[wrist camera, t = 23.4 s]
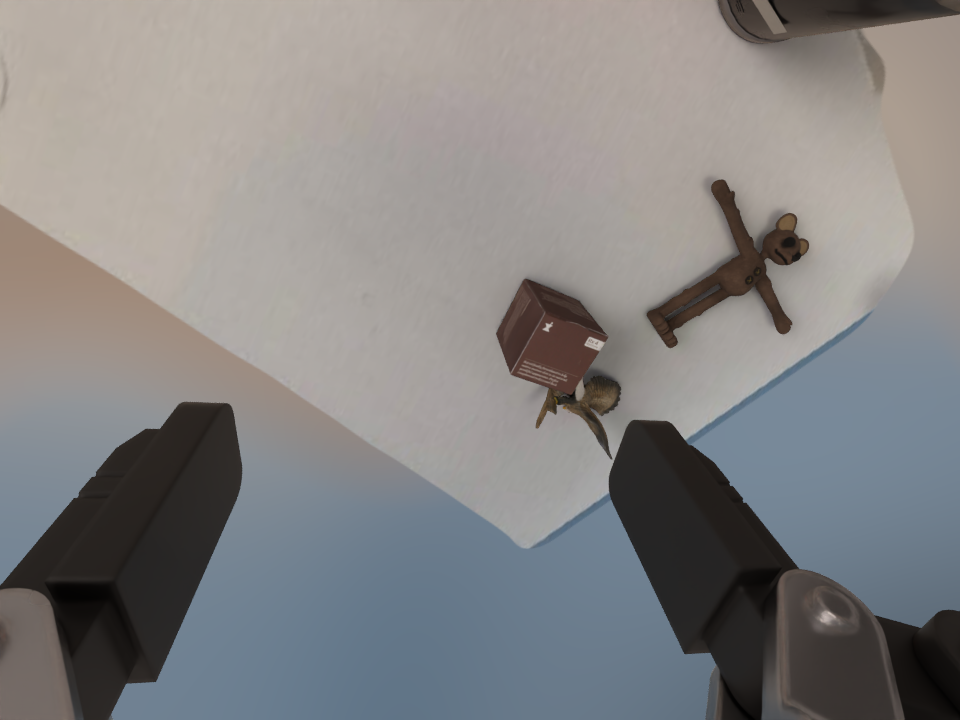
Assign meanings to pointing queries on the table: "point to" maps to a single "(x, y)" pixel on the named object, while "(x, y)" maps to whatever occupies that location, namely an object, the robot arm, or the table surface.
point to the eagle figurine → (586, 404)
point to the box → (549, 338)
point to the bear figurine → (736, 271)
